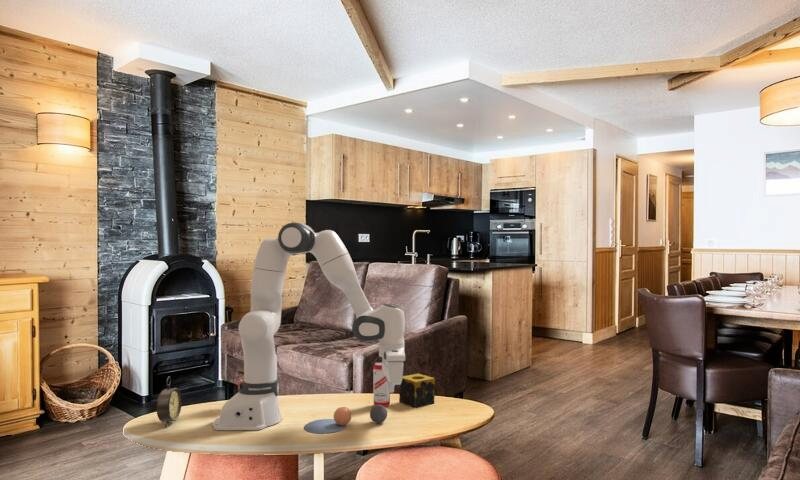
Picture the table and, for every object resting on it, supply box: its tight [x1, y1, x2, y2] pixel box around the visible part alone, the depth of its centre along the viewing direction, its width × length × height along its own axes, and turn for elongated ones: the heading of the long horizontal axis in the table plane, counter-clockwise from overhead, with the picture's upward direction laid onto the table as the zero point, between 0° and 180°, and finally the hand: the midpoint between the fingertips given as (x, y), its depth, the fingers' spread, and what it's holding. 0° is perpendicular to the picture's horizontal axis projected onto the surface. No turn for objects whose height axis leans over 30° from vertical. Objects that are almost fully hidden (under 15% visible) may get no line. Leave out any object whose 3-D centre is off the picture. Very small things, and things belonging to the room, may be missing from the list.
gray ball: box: [369, 405, 388, 424], centre depth 169 cm, size 6×6×6 cm
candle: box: [398, 373, 435, 409], centre depth 192 cm, size 10×10×10 cm
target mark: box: [304, 418, 347, 435], centre depth 166 cm, size 14×14×1 cm
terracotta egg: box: [333, 406, 353, 426], centre depth 167 cm, size 6×6×6 cm
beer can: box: [372, 361, 391, 408], centre depth 189 cm, size 6×6×16 cm
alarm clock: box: [156, 376, 182, 429], centre depth 170 cm, size 11×5×16 cm, turn 3°
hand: (390, 391), depth 170 cm, fingers closed
